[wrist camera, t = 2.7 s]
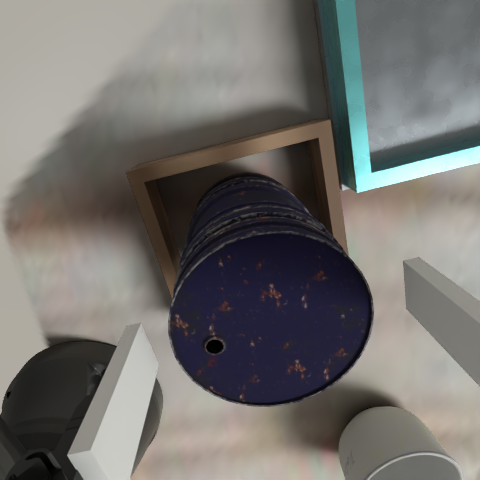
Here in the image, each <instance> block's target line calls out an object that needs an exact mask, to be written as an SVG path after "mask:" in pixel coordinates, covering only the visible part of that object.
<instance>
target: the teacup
mask: <svg viewBox="0 0 480 480" xmlns="http://www.w3.org/2000/svg"><path fill="white" fill-rule="evenodd" d="M339 459H340V463H341V467H342V470H343V473H344V476H345V479H346V480H463V474H462V471H461V469H460V467H459V465H458V464H457V463H456V461H455V460H454V459H452V458H451V457H450V456H449V454H448V453H447V451H446V450H445V449H444V447H443V446H442V445H441V444H440V442H439V441H438V440H437V438H436V437H435V436H434V435H433V433H432V432H431V431H430V430H429V429H428V427H427V426H426V425H425V424H424V423H423V422H422V421H421V420H420V419H419V418H418V417H416V416H415V415H414V414H412V413H411V412H409V411H407V410H404V409H401V408H397V407H390V406H387V407H373V408H369V409H366V410H364V411H362V412H360V413H359V414H357V415H356V416H355V417H354V418H353V419H352V420H351V421H350V423H349V424H348V425H347V426H346V428H345V429H344V431H343V433H342V435H341V438H340V442H339Z"/></svg>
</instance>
